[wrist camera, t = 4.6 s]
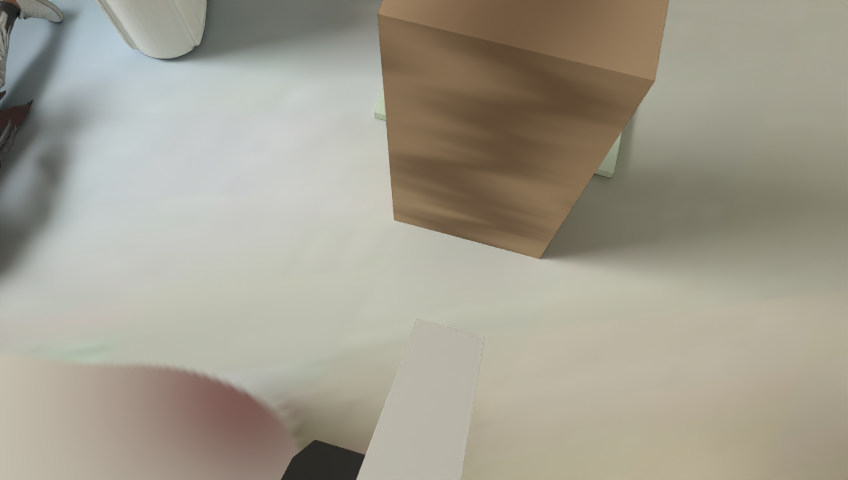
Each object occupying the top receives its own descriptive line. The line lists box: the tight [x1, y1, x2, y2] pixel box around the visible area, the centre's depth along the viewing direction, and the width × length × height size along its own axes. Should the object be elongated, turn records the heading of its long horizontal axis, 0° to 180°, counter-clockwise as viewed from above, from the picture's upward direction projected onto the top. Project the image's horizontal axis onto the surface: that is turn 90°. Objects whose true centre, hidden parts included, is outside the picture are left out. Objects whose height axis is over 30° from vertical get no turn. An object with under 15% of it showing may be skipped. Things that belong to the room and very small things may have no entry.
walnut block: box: [378, 0, 669, 258], centre depth 22 cm, size 7×4×14 cm, turn 74°
